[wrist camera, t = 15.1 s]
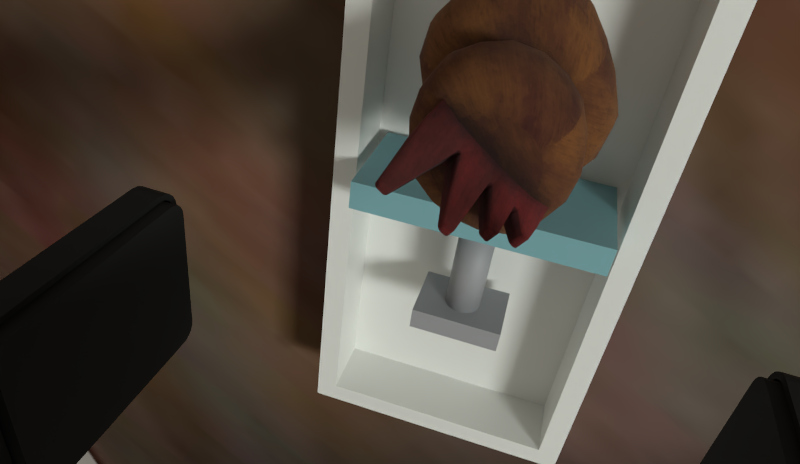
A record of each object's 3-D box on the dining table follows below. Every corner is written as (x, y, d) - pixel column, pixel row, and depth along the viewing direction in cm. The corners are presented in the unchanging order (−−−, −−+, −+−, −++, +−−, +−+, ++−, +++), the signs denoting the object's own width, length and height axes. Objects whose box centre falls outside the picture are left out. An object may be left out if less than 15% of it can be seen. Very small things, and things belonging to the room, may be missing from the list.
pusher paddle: (617, 187, 26) (617, 250, 22) (568, 318, 30) (561, 391, 26) (388, 132, 27) (350, 181, 24) (371, 264, 32) (338, 324, 28)
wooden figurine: (431, -11, 24) (246, 147, 12) (578, -81, 22) (532, 31, 9) (496, 142, 27) (398, 400, 15) (634, 96, 24) (655, 363, 12)
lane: (769, -108, 20) (798, -96, 17) (558, 409, 35) (553, 468, 32) (393, -167, 23) (357, -167, 19) (343, 344, 37) (317, 392, 34)
